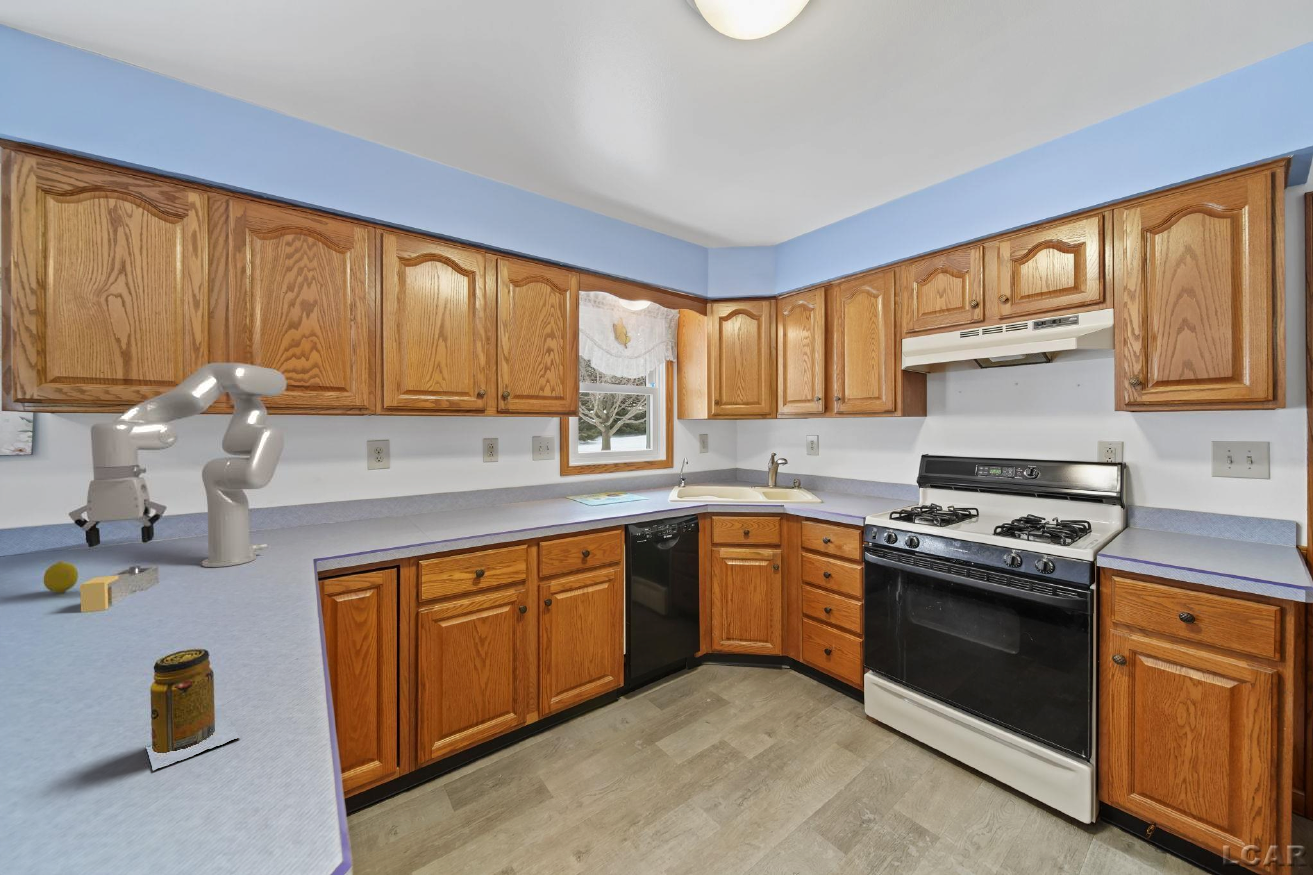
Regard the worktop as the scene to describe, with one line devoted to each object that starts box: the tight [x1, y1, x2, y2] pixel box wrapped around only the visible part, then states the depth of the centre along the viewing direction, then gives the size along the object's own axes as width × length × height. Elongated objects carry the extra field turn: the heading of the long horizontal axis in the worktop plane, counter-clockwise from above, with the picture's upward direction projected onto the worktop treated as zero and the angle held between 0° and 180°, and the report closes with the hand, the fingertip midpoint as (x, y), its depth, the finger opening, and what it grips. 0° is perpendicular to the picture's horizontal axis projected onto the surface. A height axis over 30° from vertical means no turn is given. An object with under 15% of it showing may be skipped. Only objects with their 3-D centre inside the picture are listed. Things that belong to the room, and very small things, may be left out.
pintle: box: [128, 565, 141, 574], centre depth 130 cm, size 2×2×6 cm
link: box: [107, 565, 160, 607], centre depth 125 cm, size 18×7×4 cm, turn 23°
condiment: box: [149, 648, 216, 753], centre depth 67 cm, size 7×8×12 cm
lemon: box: [43, 561, 79, 595], centre depth 126 cm, size 6×6×8 cm
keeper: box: [79, 575, 119, 613], centre depth 117 cm, size 6×4×6 cm
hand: (121, 543), depth 124 cm, fingers open, 9 cm apart
